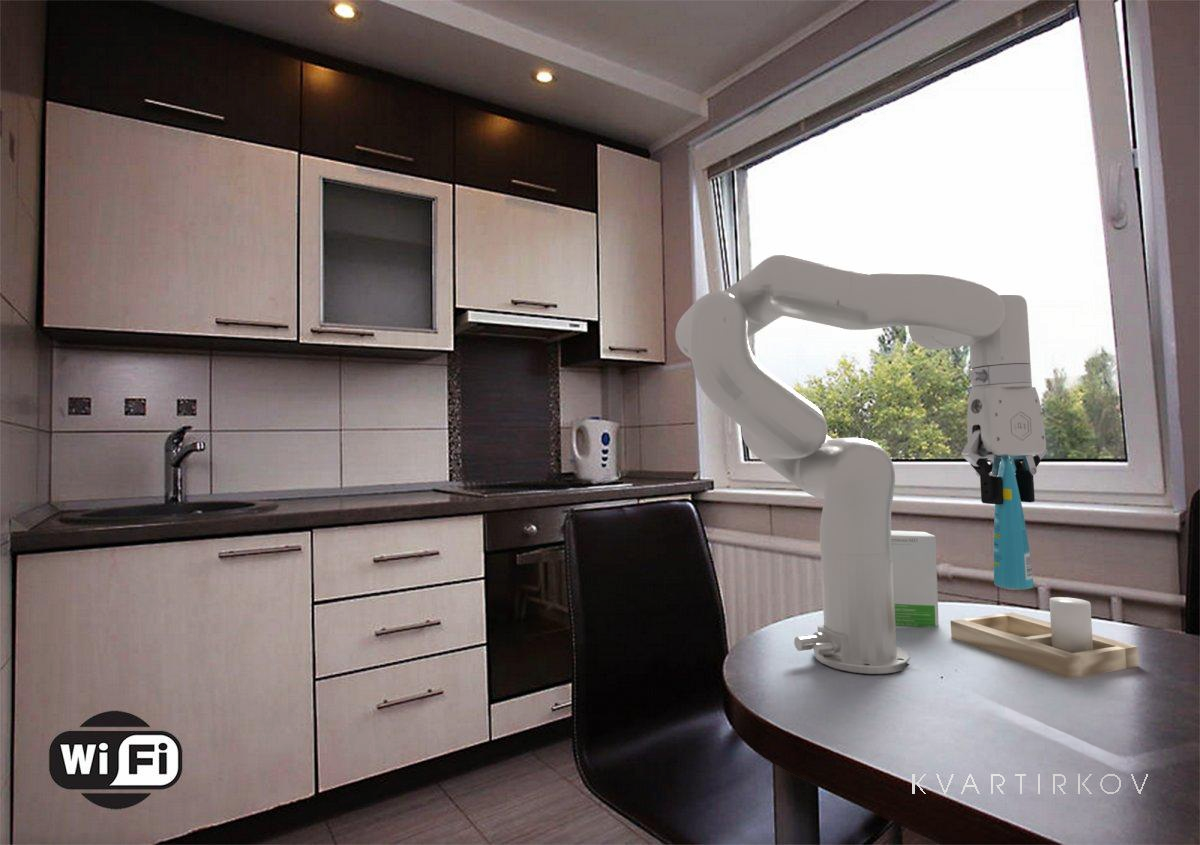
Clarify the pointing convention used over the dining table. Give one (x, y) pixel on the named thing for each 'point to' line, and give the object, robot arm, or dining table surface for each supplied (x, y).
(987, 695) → the dining table surface
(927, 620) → the skincare box
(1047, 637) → the birch holder
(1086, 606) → the white rounded cylinder
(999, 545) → the tube
